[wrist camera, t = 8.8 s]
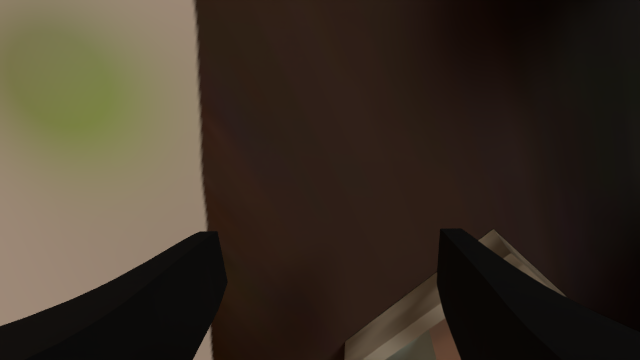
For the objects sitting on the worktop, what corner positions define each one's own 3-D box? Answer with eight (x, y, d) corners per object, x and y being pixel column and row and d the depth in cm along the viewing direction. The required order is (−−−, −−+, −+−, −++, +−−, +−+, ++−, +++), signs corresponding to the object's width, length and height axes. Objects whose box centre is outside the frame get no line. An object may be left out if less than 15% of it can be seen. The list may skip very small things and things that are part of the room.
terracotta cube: (487, 279, 21) (523, 344, 17) (538, 324, 22) (586, 397, 18) (427, 322, 23) (445, 392, 19) (476, 362, 24) (506, 438, 19)
